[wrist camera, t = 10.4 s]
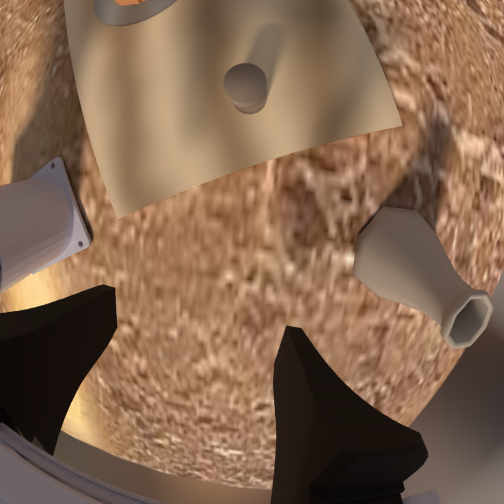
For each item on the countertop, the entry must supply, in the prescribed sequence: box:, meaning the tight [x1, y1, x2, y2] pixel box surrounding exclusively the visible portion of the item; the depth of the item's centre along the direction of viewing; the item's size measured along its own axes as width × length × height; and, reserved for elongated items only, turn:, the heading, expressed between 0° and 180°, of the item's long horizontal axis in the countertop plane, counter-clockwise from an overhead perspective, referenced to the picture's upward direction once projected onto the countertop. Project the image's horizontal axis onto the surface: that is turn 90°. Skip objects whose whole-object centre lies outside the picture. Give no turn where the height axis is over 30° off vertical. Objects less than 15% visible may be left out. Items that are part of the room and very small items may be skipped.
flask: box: [352, 206, 494, 349], centre depth 14 cm, size 7×7×10 cm
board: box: [64, 0, 402, 219], centre depth 12 cm, size 20×22×6 cm
